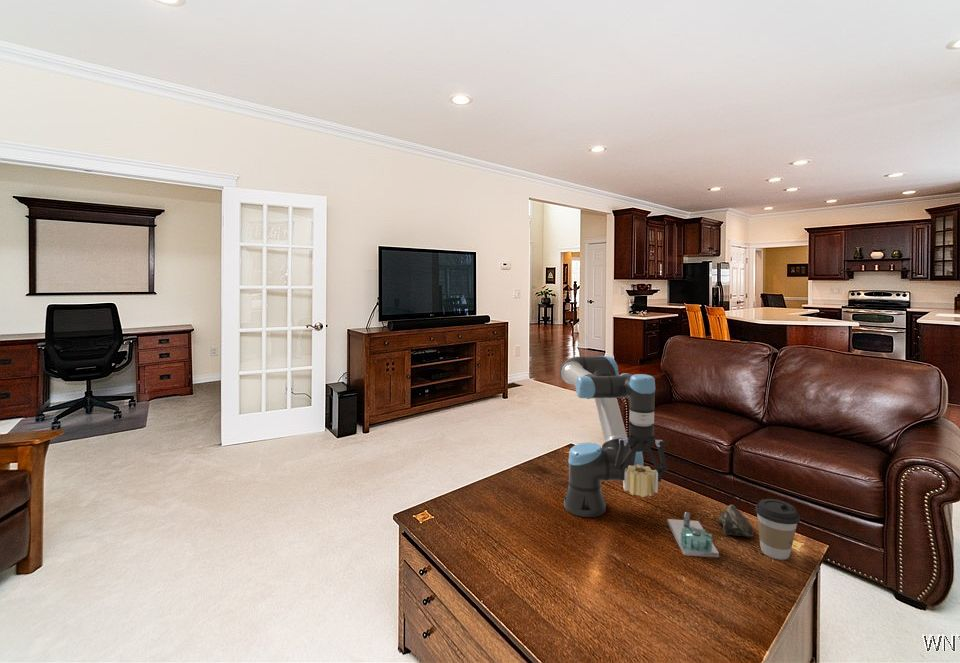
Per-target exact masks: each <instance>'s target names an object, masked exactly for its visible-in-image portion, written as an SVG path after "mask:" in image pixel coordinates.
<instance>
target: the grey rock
mask: <svg viewBox="0 0 960 663" xmlns="http://www.w3.org/2000/svg"><path fill="white" fill-rule="evenodd" d="M717 522H718V523H719V524H722V533H723V535H724V536H730V535H732V536H735V537H737V536H743V537H745V538H746V539H750V538H753V537H754V529H753V527H752V524H751V522H750V521H749V519H748V518H747V517H746V516H744V515H743V513H742V512H741V511H740V510H739V509H738V508H737V507H736V506H735V505H734V504H729V505H728V506H727V508H725V510H724V511H723V512H722V513H721V514H720V516H719V517H718V519H717Z"/></svg>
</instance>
